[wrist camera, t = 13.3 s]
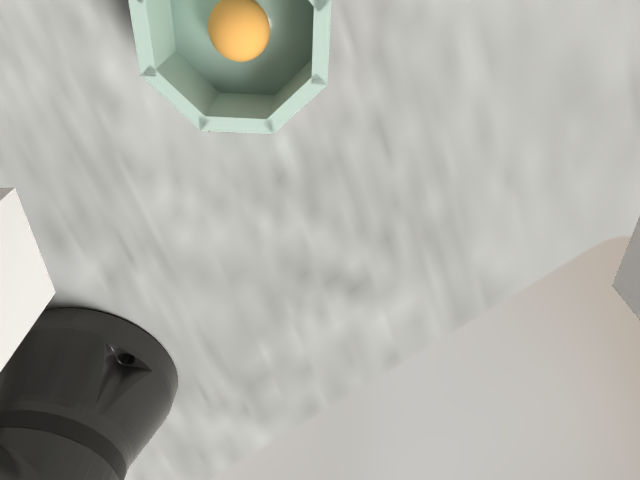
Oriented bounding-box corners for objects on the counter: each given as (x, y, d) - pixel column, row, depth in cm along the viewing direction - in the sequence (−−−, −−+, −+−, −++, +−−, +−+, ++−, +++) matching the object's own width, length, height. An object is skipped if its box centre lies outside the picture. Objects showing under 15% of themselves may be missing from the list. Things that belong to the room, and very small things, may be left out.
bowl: (173, 98, 30) (148, 128, 26) (150, -85, 25) (114, -83, 21) (325, 105, 30) (324, 136, 26) (334, -75, 25) (335, -72, 21)
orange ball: (216, 52, 28) (204, 67, 25) (212, -11, 26) (198, -2, 23) (273, 54, 28) (267, 70, 25) (272, -8, 26) (266, 1, 23)
